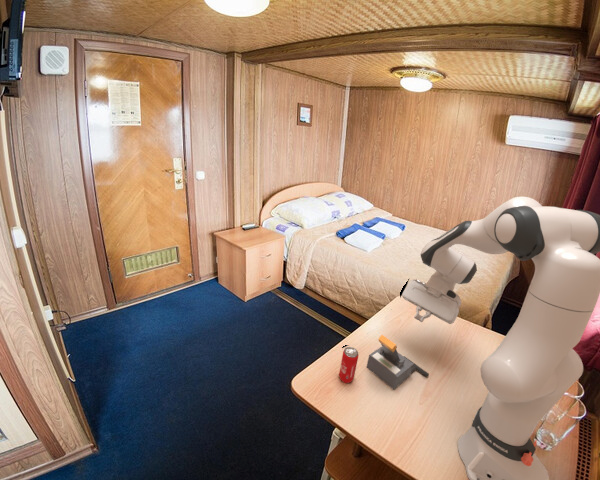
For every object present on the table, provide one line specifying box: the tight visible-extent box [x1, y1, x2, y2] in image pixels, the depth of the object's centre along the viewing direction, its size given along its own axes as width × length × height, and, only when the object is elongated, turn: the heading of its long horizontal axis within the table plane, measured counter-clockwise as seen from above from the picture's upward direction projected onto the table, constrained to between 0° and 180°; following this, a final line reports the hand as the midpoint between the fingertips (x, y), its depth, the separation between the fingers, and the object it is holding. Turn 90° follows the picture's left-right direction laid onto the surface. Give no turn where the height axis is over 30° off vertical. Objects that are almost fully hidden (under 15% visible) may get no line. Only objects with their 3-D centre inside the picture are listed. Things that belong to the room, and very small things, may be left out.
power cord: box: [403, 355, 430, 378], centre depth 112 cm, size 11×5×2 cm, turn 40°
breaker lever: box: [378, 334, 401, 364], centre depth 104 cm, size 6×2×13 cm
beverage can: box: [338, 346, 359, 384], centre depth 104 cm, size 5×5×12 cm
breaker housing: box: [366, 346, 414, 391], centre depth 109 cm, size 12×12×9 cm
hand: (417, 319), depth 111 cm, fingers closed
